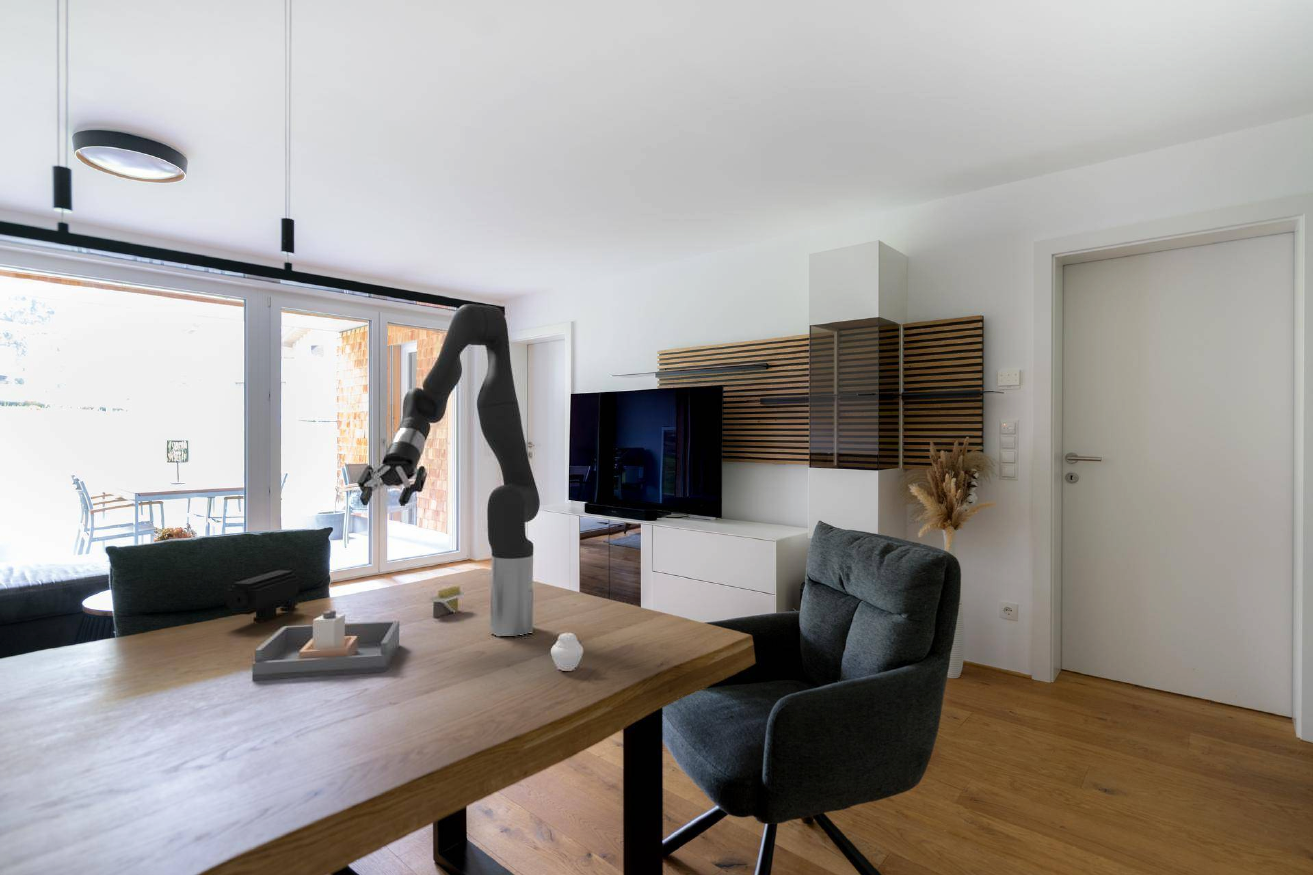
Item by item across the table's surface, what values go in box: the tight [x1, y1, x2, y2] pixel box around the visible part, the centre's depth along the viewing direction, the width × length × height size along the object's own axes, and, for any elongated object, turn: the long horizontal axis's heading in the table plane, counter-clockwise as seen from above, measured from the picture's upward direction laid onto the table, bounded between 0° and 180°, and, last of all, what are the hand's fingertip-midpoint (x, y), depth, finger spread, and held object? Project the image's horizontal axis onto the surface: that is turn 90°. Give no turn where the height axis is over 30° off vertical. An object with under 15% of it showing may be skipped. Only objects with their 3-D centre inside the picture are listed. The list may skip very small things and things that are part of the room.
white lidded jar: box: [550, 632, 584, 670], centre depth 121 cm, size 6×6×7 cm
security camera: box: [226, 569, 299, 622], centre depth 153 cm, size 7×18×10 cm, turn 174°
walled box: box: [251, 620, 400, 681], centre depth 124 cm, size 22×16×5 cm
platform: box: [427, 586, 465, 619], centre depth 158 cm, size 12×18×7 cm, turn 155°
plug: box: [312, 609, 346, 650], centre depth 122 cm, size 4×4×9 cm
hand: (382, 503), depth 142 cm, fingers open, 8 cm apart
